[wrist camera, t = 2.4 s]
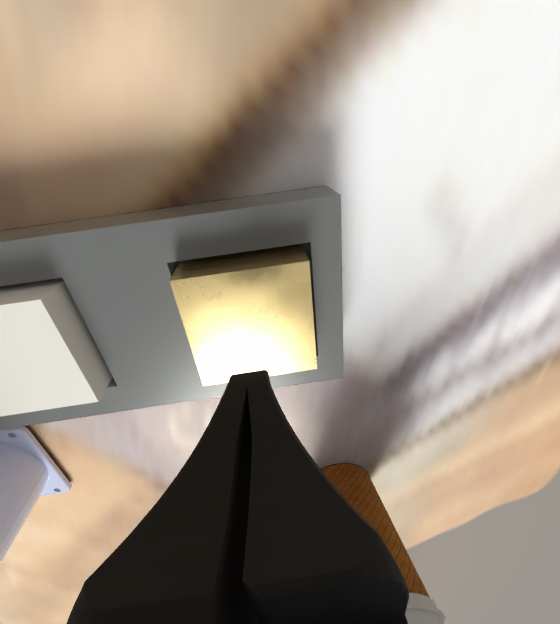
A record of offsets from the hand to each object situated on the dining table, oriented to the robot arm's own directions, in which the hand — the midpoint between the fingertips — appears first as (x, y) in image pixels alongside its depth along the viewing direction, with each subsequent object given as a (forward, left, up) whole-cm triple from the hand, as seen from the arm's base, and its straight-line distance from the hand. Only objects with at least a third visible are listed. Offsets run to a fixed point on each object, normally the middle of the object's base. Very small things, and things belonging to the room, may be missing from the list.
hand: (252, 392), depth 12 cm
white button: (-12, 0, -7) cm, 14 cm away
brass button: (0, 0, -7) cm, 7 cm away
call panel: (-6, 0, -9) cm, 11 cm away
